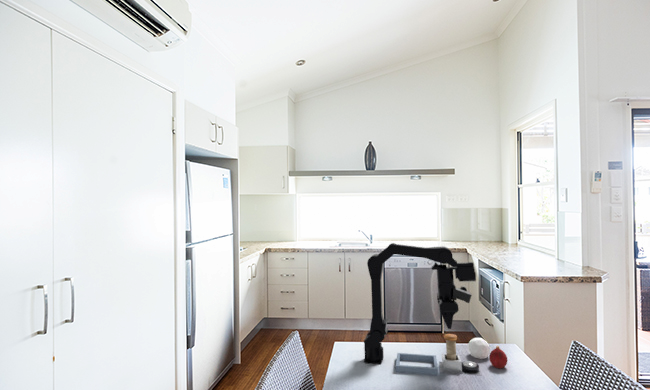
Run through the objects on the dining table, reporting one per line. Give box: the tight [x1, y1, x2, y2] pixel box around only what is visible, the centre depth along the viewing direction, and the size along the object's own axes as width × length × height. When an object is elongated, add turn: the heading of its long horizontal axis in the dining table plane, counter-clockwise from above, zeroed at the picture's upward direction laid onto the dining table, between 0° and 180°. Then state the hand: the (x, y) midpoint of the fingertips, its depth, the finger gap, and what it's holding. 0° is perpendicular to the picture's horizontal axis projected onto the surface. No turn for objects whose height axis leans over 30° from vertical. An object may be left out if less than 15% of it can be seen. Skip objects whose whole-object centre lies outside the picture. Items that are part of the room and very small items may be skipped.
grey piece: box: [438, 353, 482, 376], centre depth 128 cm, size 13×9×4 cm
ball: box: [467, 337, 491, 360], centre depth 139 cm, size 8×8×8 cm
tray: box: [395, 352, 439, 376], centre depth 130 cm, size 14×12×3 cm
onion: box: [488, 345, 508, 369], centre depth 129 cm, size 6×6×8 cm
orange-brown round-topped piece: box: [443, 333, 458, 360], centre depth 129 cm, size 4×4×11 cm
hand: (448, 324), depth 133 cm, fingers open, 9 cm apart
